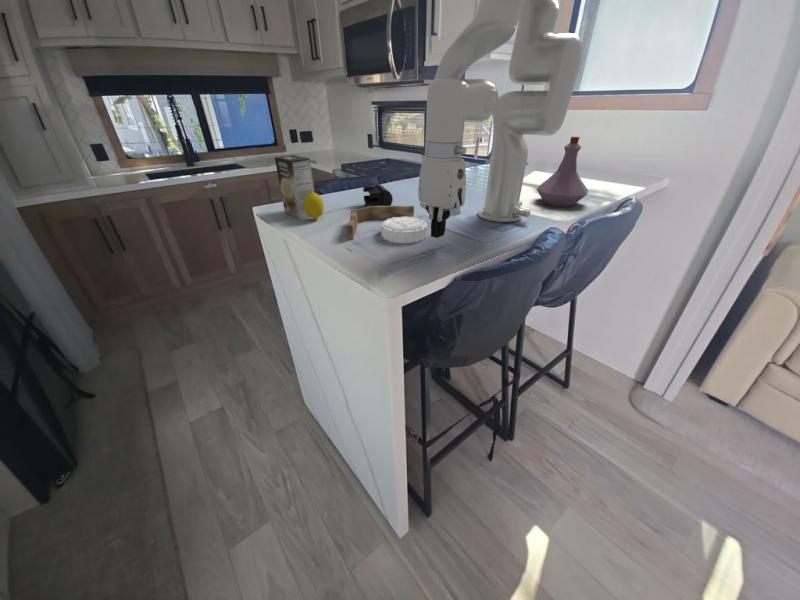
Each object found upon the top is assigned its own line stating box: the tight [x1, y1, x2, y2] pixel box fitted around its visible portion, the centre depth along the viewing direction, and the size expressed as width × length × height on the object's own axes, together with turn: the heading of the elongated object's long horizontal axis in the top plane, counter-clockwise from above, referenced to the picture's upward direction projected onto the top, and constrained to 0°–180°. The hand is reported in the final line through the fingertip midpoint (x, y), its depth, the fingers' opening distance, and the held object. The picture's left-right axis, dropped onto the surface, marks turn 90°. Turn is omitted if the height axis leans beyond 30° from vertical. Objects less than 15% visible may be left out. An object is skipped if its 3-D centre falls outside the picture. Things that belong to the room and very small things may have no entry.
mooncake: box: [380, 216, 429, 244], centre depth 84 cm, size 12×12×4 cm
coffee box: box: [274, 154, 315, 220], centre depth 96 cm, size 9×6×16 cm
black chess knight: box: [362, 182, 394, 207], centre depth 104 cm, size 10×7×7 cm
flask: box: [536, 136, 589, 208], centre depth 105 cm, size 16×16×20 cm
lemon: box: [304, 191, 325, 220], centre depth 93 cm, size 6×6×8 cm
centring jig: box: [347, 205, 415, 240], centre depth 91 cm, size 10×24×4 cm, turn 136°
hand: (437, 235), depth 77 cm, fingers closed
